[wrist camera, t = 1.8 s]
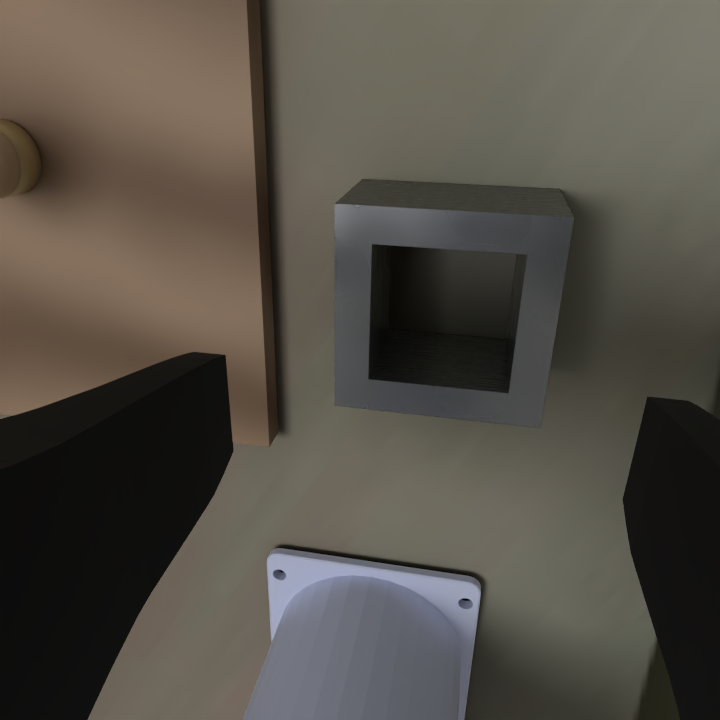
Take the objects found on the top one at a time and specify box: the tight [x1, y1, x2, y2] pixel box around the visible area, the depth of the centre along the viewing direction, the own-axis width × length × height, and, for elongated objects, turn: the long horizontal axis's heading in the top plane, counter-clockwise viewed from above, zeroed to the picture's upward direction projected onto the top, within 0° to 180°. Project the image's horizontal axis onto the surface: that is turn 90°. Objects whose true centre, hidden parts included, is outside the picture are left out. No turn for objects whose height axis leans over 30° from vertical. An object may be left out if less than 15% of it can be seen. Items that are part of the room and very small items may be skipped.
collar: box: [335, 179, 574, 428], centre depth 17 cm, size 5×5×4 cm
